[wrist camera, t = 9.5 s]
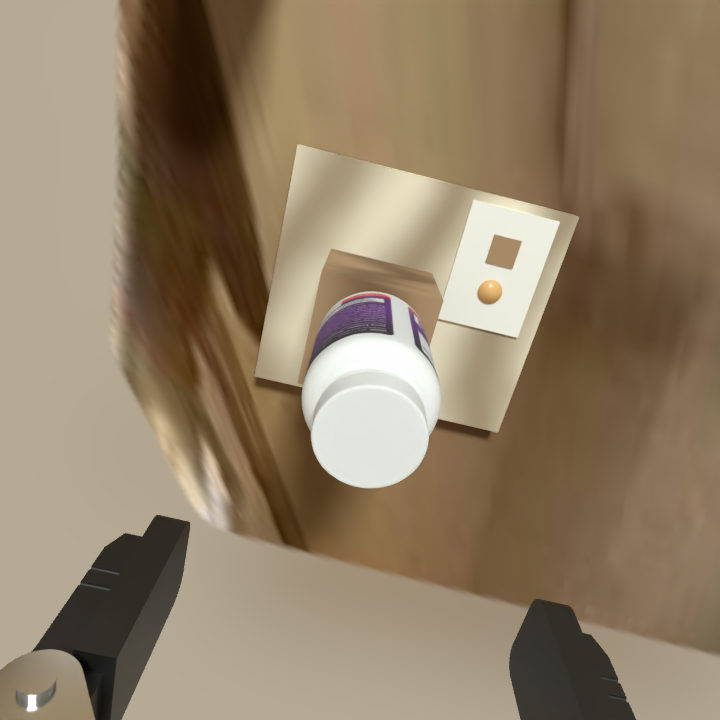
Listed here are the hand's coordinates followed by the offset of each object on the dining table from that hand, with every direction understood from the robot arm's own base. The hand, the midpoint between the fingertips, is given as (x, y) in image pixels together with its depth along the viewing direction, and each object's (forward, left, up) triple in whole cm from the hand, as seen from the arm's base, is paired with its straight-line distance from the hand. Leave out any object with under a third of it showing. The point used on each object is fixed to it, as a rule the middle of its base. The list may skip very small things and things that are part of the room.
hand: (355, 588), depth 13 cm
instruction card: (-6, -4, -22) cm, 24 cm away
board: (-2, -1, -23) cm, 23 cm away
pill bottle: (0, 0, -16) cm, 16 cm away
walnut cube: (0, 0, -22) cm, 22 cm away
